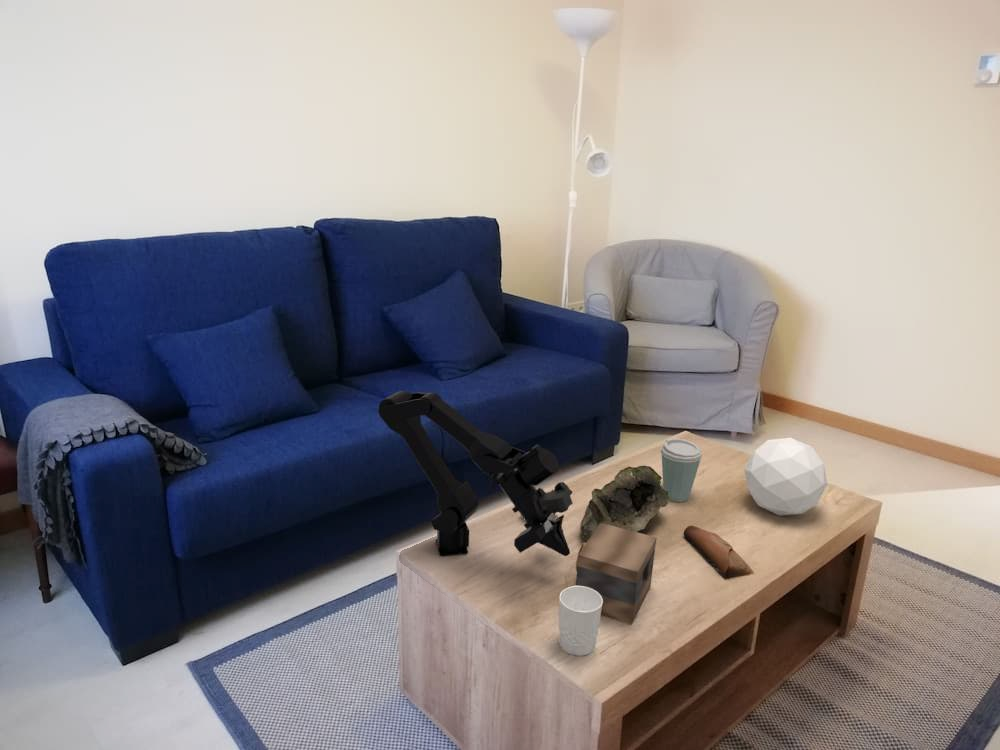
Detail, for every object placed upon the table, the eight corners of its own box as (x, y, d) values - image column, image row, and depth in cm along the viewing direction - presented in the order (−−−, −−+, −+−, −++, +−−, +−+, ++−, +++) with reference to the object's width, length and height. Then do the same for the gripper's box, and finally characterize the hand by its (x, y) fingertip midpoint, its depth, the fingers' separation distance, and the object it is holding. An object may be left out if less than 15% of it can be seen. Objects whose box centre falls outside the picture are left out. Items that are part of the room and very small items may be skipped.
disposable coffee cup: (701, 495, 195) (709, 443, 190) (688, 511, 186) (695, 457, 181) (663, 483, 200) (670, 433, 195) (649, 499, 191) (655, 446, 187)
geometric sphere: (785, 543, 186) (797, 509, 170) (725, 490, 197) (731, 454, 181) (835, 497, 191) (852, 460, 175) (774, 448, 202) (784, 409, 186)
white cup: (587, 664, 132) (591, 617, 128) (548, 647, 135) (551, 601, 132) (605, 640, 138) (609, 595, 135) (567, 624, 142) (571, 580, 139)
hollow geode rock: (650, 523, 189) (622, 471, 193) (686, 506, 180) (655, 451, 184) (581, 561, 170) (551, 502, 173) (618, 543, 161) (585, 482, 165)
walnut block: (573, 606, 147) (578, 554, 143) (596, 571, 159) (600, 522, 155) (632, 625, 142) (638, 571, 139) (650, 587, 154) (656, 537, 151)
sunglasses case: (758, 574, 161) (749, 553, 158) (732, 592, 160) (722, 571, 157) (713, 532, 177) (703, 512, 174) (689, 548, 176) (679, 528, 173)
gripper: (532, 495, 141) (581, 561, 141) (566, 459, 157) (610, 518, 157) (493, 520, 147) (540, 583, 146) (530, 483, 163) (572, 540, 162)
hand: (568, 554), depth 153 cm, fingers closed
